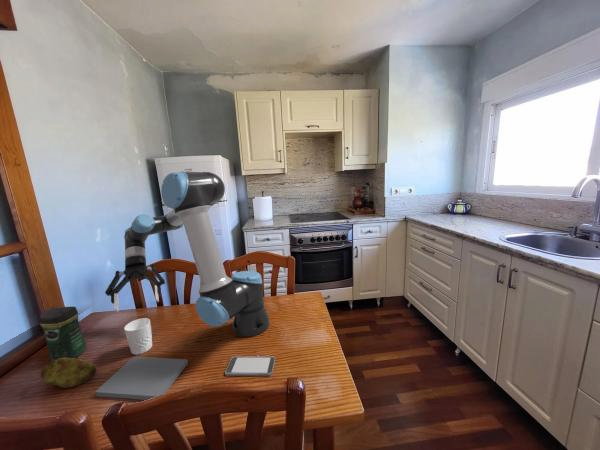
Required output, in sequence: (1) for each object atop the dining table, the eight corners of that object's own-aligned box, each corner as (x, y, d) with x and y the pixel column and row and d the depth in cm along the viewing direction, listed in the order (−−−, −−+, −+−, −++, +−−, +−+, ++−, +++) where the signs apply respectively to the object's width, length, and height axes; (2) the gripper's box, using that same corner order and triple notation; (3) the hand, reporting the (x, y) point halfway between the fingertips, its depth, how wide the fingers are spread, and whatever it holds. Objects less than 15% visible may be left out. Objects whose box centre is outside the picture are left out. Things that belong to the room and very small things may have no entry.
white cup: (137, 342, 93) (132, 319, 91) (158, 340, 94) (154, 317, 92) (124, 357, 85) (118, 331, 84) (147, 354, 86) (142, 329, 84)
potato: (75, 395, 70) (68, 372, 69) (38, 392, 72) (31, 369, 71) (101, 373, 78) (96, 351, 77) (68, 370, 80) (62, 349, 79)
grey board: (187, 363, 81) (187, 359, 81) (159, 401, 67) (158, 396, 67) (134, 360, 84) (133, 356, 83) (96, 396, 70) (95, 391, 70)
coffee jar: (91, 347, 92) (81, 302, 88) (71, 362, 84) (59, 314, 80) (67, 347, 92) (55, 303, 88) (45, 363, 84) (31, 315, 81)
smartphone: (232, 356, 82) (275, 356, 81) (232, 359, 82) (275, 359, 82) (224, 373, 75) (271, 373, 74) (224, 376, 75) (272, 376, 74)
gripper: (168, 257, 114) (173, 300, 103) (102, 268, 102) (100, 318, 92) (166, 249, 108) (172, 293, 98) (96, 260, 97) (94, 311, 86)
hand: (137, 305), depth 95 cm, fingers open, 13 cm apart
